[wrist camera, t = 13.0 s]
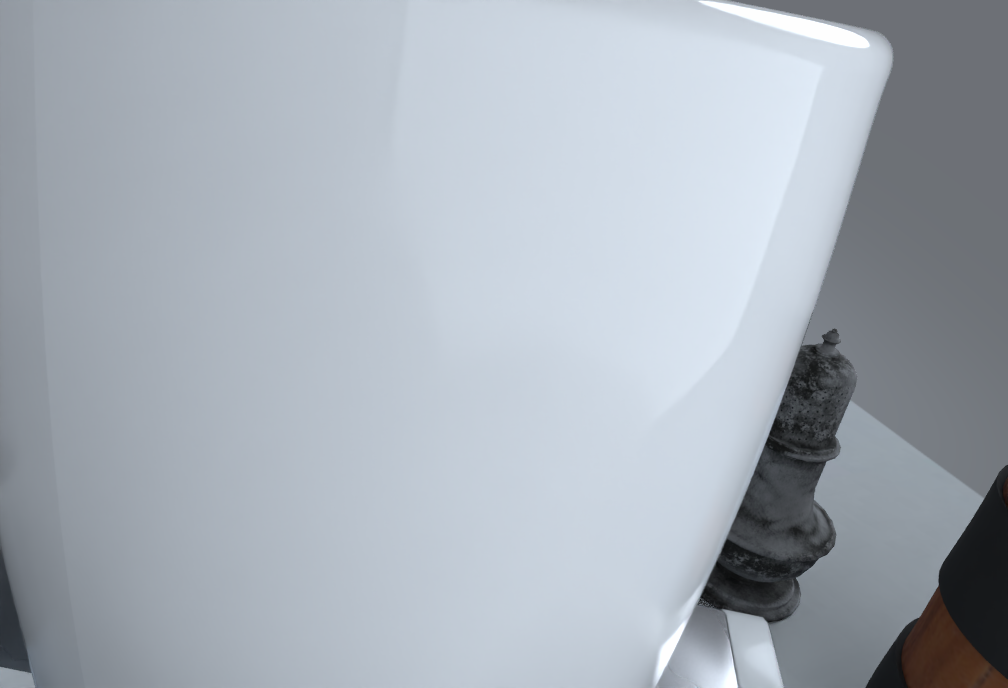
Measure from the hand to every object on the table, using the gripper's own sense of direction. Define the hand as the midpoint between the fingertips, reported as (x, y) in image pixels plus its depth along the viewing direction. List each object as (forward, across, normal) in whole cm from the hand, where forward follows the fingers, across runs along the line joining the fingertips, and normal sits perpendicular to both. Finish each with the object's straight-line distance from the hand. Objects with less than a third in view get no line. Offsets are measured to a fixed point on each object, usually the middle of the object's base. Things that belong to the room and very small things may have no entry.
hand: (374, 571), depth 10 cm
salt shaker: (+21, -12, +15) cm, 28 cm away
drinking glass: (-1, 0, +8) cm, 8 cm away
